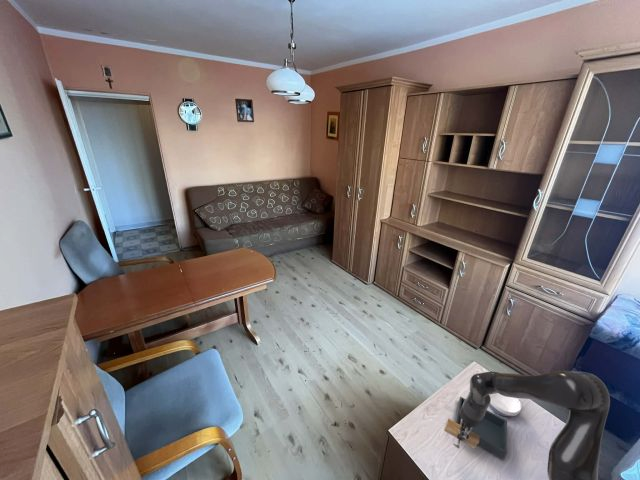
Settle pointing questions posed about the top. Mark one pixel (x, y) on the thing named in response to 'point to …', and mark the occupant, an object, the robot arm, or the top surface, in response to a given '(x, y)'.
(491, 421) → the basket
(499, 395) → the bowl
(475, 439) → the wooden block
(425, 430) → the top surface
